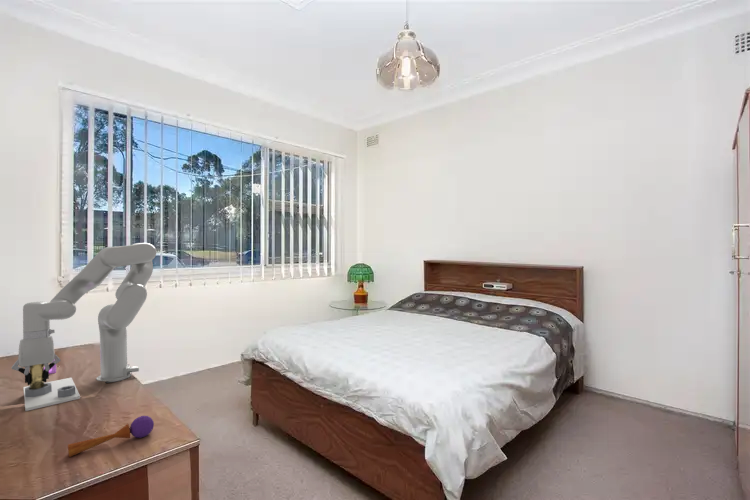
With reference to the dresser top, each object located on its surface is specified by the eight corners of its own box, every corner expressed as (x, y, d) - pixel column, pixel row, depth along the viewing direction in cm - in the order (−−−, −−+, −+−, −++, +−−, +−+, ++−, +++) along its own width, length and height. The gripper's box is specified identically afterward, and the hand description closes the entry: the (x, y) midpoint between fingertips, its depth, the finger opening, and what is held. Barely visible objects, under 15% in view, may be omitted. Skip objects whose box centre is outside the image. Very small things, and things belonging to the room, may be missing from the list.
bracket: (56, 375, 168) (55, 359, 168) (39, 378, 164) (38, 362, 164) (56, 368, 178) (55, 353, 177) (40, 370, 174) (40, 355, 174)
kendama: (68, 437, 104) (150, 411, 117) (70, 459, 104) (153, 430, 116) (66, 441, 100) (153, 414, 112) (69, 465, 99) (156, 434, 111)
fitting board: (71, 379, 161) (71, 371, 161) (80, 398, 141) (79, 389, 141) (23, 389, 150) (23, 380, 150) (25, 411, 130) (25, 401, 130)
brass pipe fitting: (45, 384, 146) (45, 361, 146) (41, 387, 142) (41, 364, 142) (32, 385, 145) (32, 362, 145) (27, 389, 141) (27, 365, 141)
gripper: (64, 329, 152) (64, 375, 152) (5, 336, 140) (6, 385, 140) (66, 332, 147) (66, 379, 147) (5, 340, 135) (6, 391, 135)
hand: (37, 382), depth 143 cm, fingers closed on brass pipe fitting, 4 cm apart
